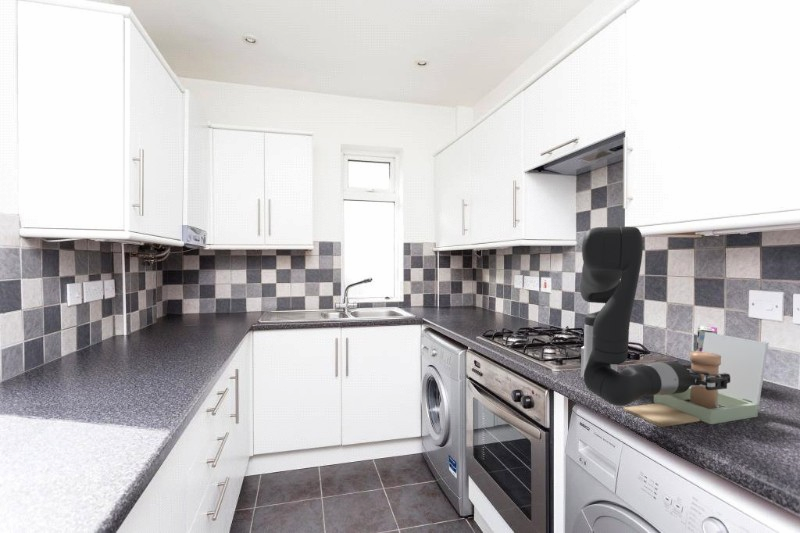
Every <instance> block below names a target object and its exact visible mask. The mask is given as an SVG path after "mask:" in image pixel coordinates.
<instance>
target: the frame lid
mask: <svg viewBox="0 0 800 533" xmlns="http://www.w3.org/2000/svg"><path fill="white" fill-rule="evenodd" d="M768 349H769V343H768V342H766V341H759V340H753V339H747V338H742V337H735V336H730V335H725V334H720V333H719V334H718V333H717V334H715V333H709V332H705V337H704V343H703V349H702V352H709V353H714V354H718V355H721V365H719V374H724V373H726V374H729V375H730V383H727V389H719V390H718V392H719V393H723V394H726V395H729V396H732V397H735V398H739V399H742V400H744V401H747V402H751V403H755V404H758V405H760V401H761V394H762V388H763V381H764V374H765V369H766V364H767V355H768Z"/></svg>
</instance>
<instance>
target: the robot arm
mask: <svg viewBox="0 0 800 533" xmlns="http://www.w3.org/2000/svg"><path fill="white" fill-rule="evenodd" d="M582 239H583V240H582V244H581V255H582V263H583V265H582V269H581V275H582V276H581V281H580V286H579V290H580V296H581V298H582V299H583V300H584V302H587V303H593V304H604V305H603V306H602V308H601V309H600V310H598V311H595V312H591V313H588V314H586V315H585V316H584V328H583V330H584V331H583V332H584V333H583V334H584V335H583V337H584V338H583V346H581V348H580V349H581V354H580V356H581V357H580V378H582V380H583V381H584V384H585V387H586V388H587V390H589V391H590V392H592V393H593V394H594V395H596V396H597V397H599V398H601V399H603V400H604V401H605V402H607V403H608V404H611V405H613V406H617V407H618V406H619V407H623V406H625V407H626V406H628V405H630V404H631V403H634V402H635V401H637V400H638V399H640V398H642V397H649V396H654V395H668V394H676V393H683V392H685V391H687V390H688V389H689V388H690V386H693V387H694V386H704V387H705V389H706V390H719V389H727V383H730V375H729V374H726V373H724V374H709V373H708V372H706V371H695V370H693V369H691V364H690V363H689V364H682V363H680V362H679V361H678V362H677V361H676V360H675V361H672V360H670V361H658V362H649V363H645V364H639V365H629V366H627V367H623V368H622V370H621V371H620V372H618V365H622V364H624V363H625V362H626V361H627V358H628V353H629V339H630V338H629V337H630V326H631V324H630V323H631V316H632V311H633V307H634V302H635V298H636V293H637V289H638V284H639V283H638V282H639V278H640V272H641V268H642V267H641V266H642V261H643V251H644V245H643V244H644V242H643V236H642V232H641V231H640V229H639V228H638V227H636V226H598V227H592V228H590V229H588V230H587V231H586V232H585V234H584V236H583V238H582ZM700 374H704V380H701V375H700ZM710 377H714V378H710Z"/></svg>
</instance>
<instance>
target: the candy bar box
mask: <svg viewBox="0 0 800 533" xmlns="http://www.w3.org/2000/svg"><path fill="white" fill-rule="evenodd" d="M705 332H709V333H715V334H718V328H717V327H715V326H714V327H713V326H706V325H698V327H697V332H696V333H697V335H696V337H697V338H696V351H702V349H703V343H704V337H705Z"/></svg>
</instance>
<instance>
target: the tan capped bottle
mask: <svg viewBox="0 0 800 533" xmlns="http://www.w3.org/2000/svg"><path fill="white" fill-rule="evenodd" d="M689 361H690V362H691V369H693V370H695V371H706V372H708V373H709V374H719V365H721V355H718V354H714V353H709V352H702V351H697V350H692V351H691V350H690V351H689ZM700 375H701V380H704V374H700ZM710 378H714V377H710ZM689 402H691V403H693V404H696V405H699V406H702V407H704V408H707V409H715V408H718V404H717V403H718V390H706V389H705V387H704V386H694V387H693V386H691V391H690V399H689Z"/></svg>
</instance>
